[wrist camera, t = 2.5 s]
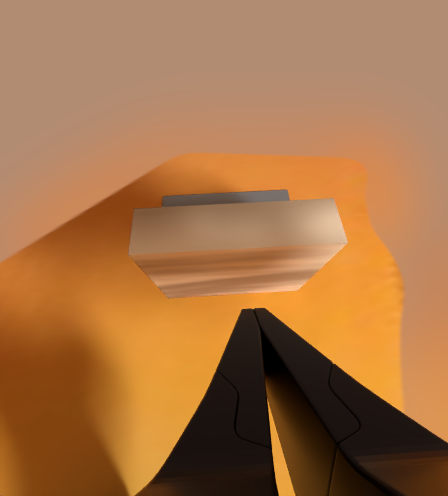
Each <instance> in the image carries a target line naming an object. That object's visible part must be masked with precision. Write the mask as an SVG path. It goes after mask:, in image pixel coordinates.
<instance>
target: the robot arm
mask: <svg viewBox="0 0 448 496" xmlns="http://www.w3.org/2000/svg"><path fill="white" fill-rule="evenodd" d="M267 398H268V402H269V405H270V409H271V412H272V416H273V419H274V423H275V426H276V430H277V433H278V437H279V440H280V443H281V447H282V450H283V454H284V457H285V461H286V464H287V468H288V471H289V475H290V478H291V482H292V485H293V489H294V492H295V495H296V496H448V443H447V442H446V441H444V440H442V439H441V438H439V437H438V436H436V435H435V434H433V433H432V432H430V431H429V430H427V429H426V428H424V427H423V426H421V425H420V424H418V423H417V422H415V421H414V420H413V419H411V418H410V417H408V416H407V415H405V414H404V413H402V412H401V411H399V410H398V409H396V408H395V407H393V406H392V405H390V404H389V403H387V402H386V401H384V400H383V399H382V398H380V397H379V396H377V395H376V394H374V393H373V392H372V391H370V390H369V389H367V388H366V387H364V386H363V385H362V384H360V383H359V382H358V381H356V380H355V379H354V378H352V377H351V376H350V375H348V374H347V373H346V372H344V371H343V370H342V369H341V368H339V367H338V366H337V365H336V364H333V362H332V361H331V360H329V359H328V358H327V357H326V356H324V355H323V354H322V353H321V352H319V351H318V350H317V349H316V348H314V347H313V346H312V345H310V344H309V343H308V342H307V341H305V340H304V339H303V338H302V337H300V336H299V335H298V334H297V333H295V332H294V331H293V330H292V329H290V328H289V327H288V326H287V325H285V324H284V323H283V322H282V321H280V320H279V319H278V318H277V317H275V316H274V315H273V314H272V313H270V312H269V311H268V310H267V309H265V308H255V309H254V310H253V309H242V310H241V313H240V315H239V317H238V320H237V322H236V324H235V327H234V329H233V332H232V334H231V336H230V339H229V341H228V343H227V346H226V348H225V350H224V353H223V355H222V357H221V360H220V362H219V364H218V367H217V369H216V372H215V374H214V376H213V378H212V381H211V383H210V385H209V387H208V389H207V391H206V393H205V396H204V397H203V399H202V401H201V403H200V405H199V406H198V408H197V410H196V412H195V413H194V415H193V417H192V418H191V420H190V422H189V423H188V425H187V427H186V428H185V430H184V432H183V433H182V435H181V437H180V438H179V440H178V442H177V443H176V445H175V447H174V448H173V450H172V452H171V453H170V455H169V457H168V458H167V460H166V461H165V463H164V464H163V466H162V467H161V469H160V470H159V472H158V473H157V474H156V475H155V477H154V478H153V479H152V480H151V481H150V482H149V483H148V484H147V485H146V486H145V487H144V488H143V489H142V490H141V491H140V492H138V493H137V494H136V495H135V496H279V494H278V489H277V485H276V479H275V471H274V463H273V454H272V444H271V433H270V423H269V413H268V403H267Z"/></svg>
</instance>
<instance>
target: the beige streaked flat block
mask: <svg viewBox="0 0 448 496" xmlns="http://www.w3.org/2000/svg"><path fill="white" fill-rule="evenodd" d="M347 243H348V242H347V238H346V235H345V232H344V229H343V226H342V223H341V220H340V216H339V213H338V210H337V207H336V204H335V201H334V198H331V199H312V200H292V201H273V202H254V203H234V204H215V205H195V206H176V207H156V208H137V209H134V212H133V220H132V228H131V236H130V244H129V252H128V255H129V256H130V257H131V259H132V260H133V261H134V262H135V263H136V264H137V265H138V266H139V267H140V268H141V269H142V270H143V272H144V273H145V274H146V275H147V276H148V277H149V278H150V279H151V280H152V281H153V282H154V283H155V284H156V286H157V287H158V288H159V289H160V290H161V291H162V292H163V293H164V294H165V295H166V296H167V297H168V298H181V297H197V296H214V295H231V294H247V293H264V292H281V291H297V290H299V289H300V288H301V287H302V286H303V285H304V284H305V283H306V282H307V281H308V280H309V279H310V278H311V277H312V276H313V275H314V274H315V273H316V272H318V271H319V270H320V269H321V268H322V267H323V266H324V265H325V264H326V263H327V262H328V261H329V260H330V259H331V258H332V257H333V256H334V255H335V254H336V253H338V252H339V251H340V250H341V249H342V248H343V247H344V246H345V245H346V244H347Z"/></svg>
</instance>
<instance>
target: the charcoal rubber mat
mask: <svg viewBox="0 0 448 496" xmlns="http://www.w3.org/2000/svg"><path fill="white" fill-rule="evenodd" d="M273 201H290V200H289V195H288V191H287V190H273V191H253V192H233V193H214V194H194V195H174V196H163V204H162V207H176V206H195V205H215V204H234V203H254V202H273Z"/></svg>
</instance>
